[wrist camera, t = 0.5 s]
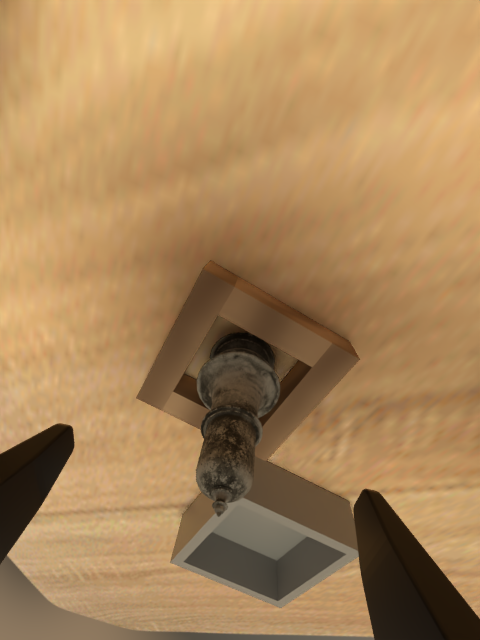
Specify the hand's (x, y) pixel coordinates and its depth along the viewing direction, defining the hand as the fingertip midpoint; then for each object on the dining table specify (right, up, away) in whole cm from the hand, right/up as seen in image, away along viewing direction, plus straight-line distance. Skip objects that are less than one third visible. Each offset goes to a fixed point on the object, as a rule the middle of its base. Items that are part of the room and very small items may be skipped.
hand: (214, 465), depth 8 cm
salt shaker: (+1, +1, +14) cm, 14 cm away
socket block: (+1, +1, +14) cm, 14 cm away
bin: (+3, -16, +21) cm, 27 cm away
